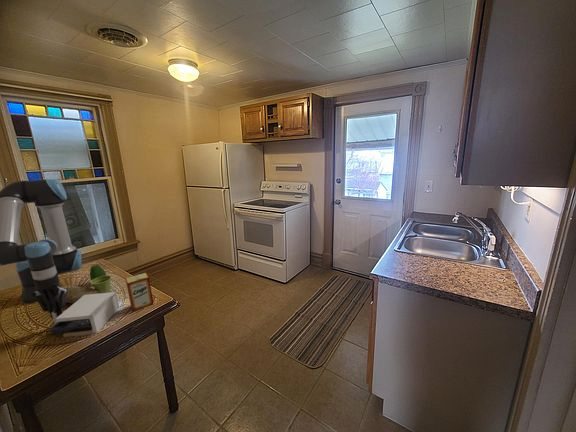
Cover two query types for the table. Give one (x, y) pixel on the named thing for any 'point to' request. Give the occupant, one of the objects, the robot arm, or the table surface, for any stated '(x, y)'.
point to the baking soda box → (139, 291)
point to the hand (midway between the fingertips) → (59, 323)
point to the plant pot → (102, 284)
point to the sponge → (78, 293)
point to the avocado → (96, 272)
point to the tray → (71, 326)
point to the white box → (91, 311)
